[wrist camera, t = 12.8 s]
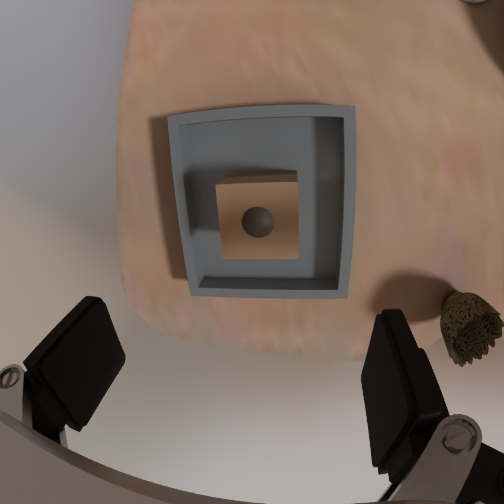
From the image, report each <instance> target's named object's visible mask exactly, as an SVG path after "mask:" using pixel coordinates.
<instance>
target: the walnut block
mask: <svg viewBox="0 0 504 504" xmlns="http://www.w3.org/2000/svg"><path fill="white" fill-rule="evenodd" d="M215 187H216V197H217V207H218V217H219V227H220V236H221V246H222V255H223V259H299V210H298V178H297V170H296V171H257V172H236V173H231V174H229V175H228V176H226V177H225V178H224V179H222V180H221V181H220V182H218V183H217V184H216V185H215Z"/></svg>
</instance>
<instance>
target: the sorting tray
mask: <svg viewBox="0 0 504 504" xmlns="http://www.w3.org/2000/svg"><path fill="white" fill-rule="evenodd" d="M167 120H168V133H169V144H170V154H171V164H172V173H173V182H174V191H175V199H176V206H177V214H178V221H179V228H180V235H181V241H182V248H183V254H184V260H185V266H186V272H187V278H188V284H189V289H190V295H191V296H212V297H241V298H294V299H333V298H347V295H348V286H349V277H350V267H351V257H352V245H353V231H354V215H355V192H356V117H355V106H344V105H264V106H248V107H235V108H224V109H214V110H206V111H198V112H190V113H184V114H177V115H171V116H167ZM296 170H297V178H298V210H299V259H223V255H222V246H221V236H220V227H219V217H218V207H217V197H216V187H215V185H216V184H217V183H218V182H220V181H221V180H222V179H224V178H225V177H226V176H228V175H229V174H231V173H236V172H257V171H296Z"/></svg>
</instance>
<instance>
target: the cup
mask: <svg viewBox="0 0 504 504" xmlns="http://www.w3.org/2000/svg"><path fill="white" fill-rule="evenodd" d="M500 315H501V314H500V313H499V312H497V311H496V310H495V309H494V308H493V307H492V306H491V305H490V304H488V303H487V302H486V301H485V300H484V299H482V298H481V297H480V296H478V295H476V294H473V293H462V292H459V291H454V292H452V293H450V294H448V295H447V296H446V297H445V299H444V300H443V303H442V315H441V319H440V327H441V332H442V336H443V339H444V341H445V344H446V347H447V350H448V353H449V357H450V358H452V359H453V361H454V363H455V364H457V363H458V364H459V365H460V366H461V367H463V366H464V365H465V364H466V361H468V363H470V364H472V362H473V357H474V358H475V359H476V358H477V359H482V354H483V355H487V354H488V349H489V348H488V344H489V345H491V346H492V347H494V346H495V341H494V340H495V338H500V337H501V336H502V327H504V322H503V321H502V320H501V319H500Z"/></svg>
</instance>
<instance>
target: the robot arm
mask: <svg viewBox="0 0 504 504" xmlns="http://www.w3.org/2000/svg"><path fill="white" fill-rule="evenodd" d="M462 1H465V2H469V3H477V4H478V3H483V2H485V1H487V0H462ZM124 363H125V354H124V351H123V349H122V346H121V344H120V341H119V339H118V336H117V334H116V331H115V329H114V326H113V323H112V320H111V318H110V315H109V312H108V309H107V307H106V304H105V303H104V302H103V300H102V299H101V298H99V297H93V296H86V297H84V298H83V299H82V300H81V302H79V303H78V304H77V305H76V306H75V307H74V308H73V309H72V310H71V311H70V312H69V313H68V314H67V315H66V316H65V317H64V318H63V319H62V321H60V322H59V323H58V324H57V325H56V327H55V328H54V329H53V330H52V331H51V332H50V333H49V334H48V335H47V336H46V337H45V338H44V339H43V340H42V342H41V343H40V344H39V345H38V346H37V347H36V348H35V349H34V350H33V351H32V352H31V353H30V355H29V356H28V357H27V358H26V359H25V360H24V361H23V364H24V365H25V367H26V369H27V371H26V372H25V371H24V370H23V368H22V367H21V366H20V365H16V364H13V365H9V366H6V367H5V368H3V369H2V370H1V371H0V504H263V503H251V502H243V501H235V500H227V499H222V498H215V497H210V496H204V495H199V494H195V493H190V492H186V491H182V490H177V489H174V488H170V487H166V486H163V485H159V484H155V483H152V482H149V481H146V480H142V479H139V478H137V477H133V476H131V475H128V474H125V473H122V472H119V471H117V470H115V469H112V468H109V467H107V466H104V465H102V464H100V463H97V462H95V461H93V460H91V459H88V458H86V457H84V456H82V455H79V454H77V453H75V452H73V451H71V450H69V449H68V445H67V440H66V434H65V428H64V426H65V424H67V425H68V426H69V427H70V428H71V429H74V430H76V431H78V432H80V431H81V429H82V427H83V426H86V425H87V423H88V422H89V420H90V418H91V417H92V415H93V413H94V412H95V410H96V408H97V406H98V405H99V403H100V402H101V400H102V398H103V397H104V395H105V393H106V392H107V390H108V389H109V387H110V385H111V384H112V382H113V381H114V379H115V377H116V376H117V374H118V373H119V371H120V370H121V368H122V366H123V365H124ZM361 383H362V390H363V396H364V402H365V409H366V416H367V423H368V431H369V439H370V448H371V458H372V465H373V467H378V474H386V473H388V475H389V481H390V482H391V484H390V485H389V487H388V488H387V489H386V490H385V492H384V493H383V494H382V496H381V497H380V498H379V499H378V501H377V502H371V503H357V504H504V453H502V452H499V451H498V450H496V449H494V448H492V447H490V446H488V445H486V444H484V443H482V442H481V441H482V433H481V429H480V427H479V425H478V424H477V423H476V422H475V421H474V419H472V418H470V417H468V416H466V415H462V414H454V415H451V416H450V415H449V412H448V409H447V406H446V403H445V401H444V398H443V395H442V392H441V390H440V387H439V384H438V382H437V379H436V377H435V374H434V372H433V369H432V367H431V364H430V362H429V359H428V357H427V355H426V353H425V351H424V349H422V348H418V346H417V343H416V341H415V339H414V336H413V334H412V332H411V330H410V327H409V325H408V323H407V321H406V319H405V316H404V314H403V312H402V310H401V309H384V310H383V311H382V313H381V314H377V316H376V318H375V323H374V327H373V332H372V336H371V340H370V344H369V348H368V352H367V355H366V359H365V363H364V367H363V370H362V374H361Z"/></svg>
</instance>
